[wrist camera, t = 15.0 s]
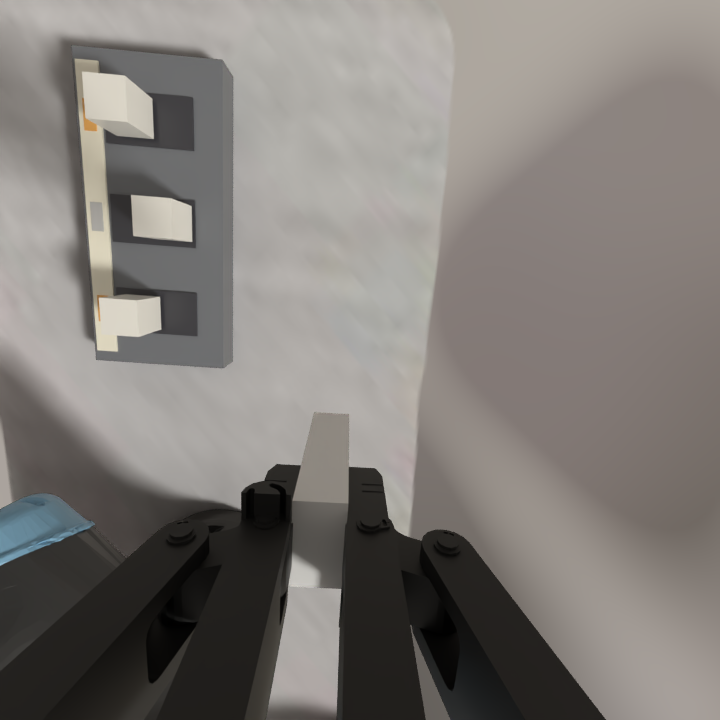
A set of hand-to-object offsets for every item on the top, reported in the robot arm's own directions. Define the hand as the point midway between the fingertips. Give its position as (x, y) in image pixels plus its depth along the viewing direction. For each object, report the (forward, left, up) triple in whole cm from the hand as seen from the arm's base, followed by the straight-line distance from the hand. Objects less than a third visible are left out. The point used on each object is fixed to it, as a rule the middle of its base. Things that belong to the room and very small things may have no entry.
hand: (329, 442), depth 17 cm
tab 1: (+5, +25, -21) cm, 33 cm away
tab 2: (-8, +16, -21) cm, 28 cm away
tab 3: (0, +18, -21) cm, 28 cm away
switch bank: (-1, +20, -24) cm, 31 cm away
